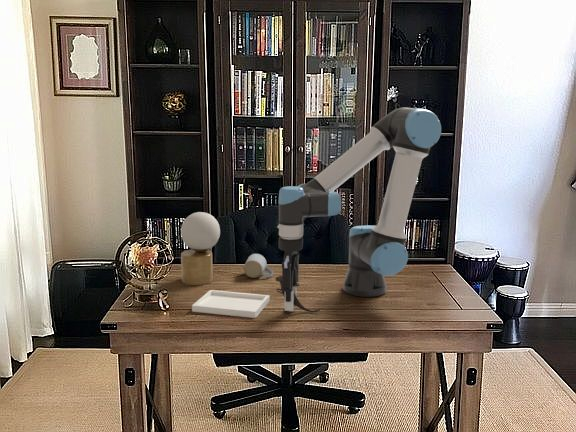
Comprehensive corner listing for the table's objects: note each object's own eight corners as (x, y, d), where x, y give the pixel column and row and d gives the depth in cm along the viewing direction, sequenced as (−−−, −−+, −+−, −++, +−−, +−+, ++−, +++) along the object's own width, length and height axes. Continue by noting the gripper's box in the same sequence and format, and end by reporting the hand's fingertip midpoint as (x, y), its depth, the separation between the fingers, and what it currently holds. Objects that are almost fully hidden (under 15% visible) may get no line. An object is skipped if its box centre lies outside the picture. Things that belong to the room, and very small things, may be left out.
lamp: (198, 271, 245) (197, 207, 240) (228, 277, 238) (227, 211, 232) (172, 281, 232) (170, 214, 227) (202, 288, 225) (201, 218, 220)
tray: (269, 301, 212) (269, 295, 212) (255, 318, 197) (255, 311, 197) (210, 295, 217) (210, 289, 217) (192, 311, 202) (191, 305, 202)
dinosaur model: (275, 273, 202) (323, 277, 201) (273, 308, 205) (320, 311, 204) (275, 278, 198) (323, 281, 197) (272, 313, 201) (320, 316, 200)
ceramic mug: (242, 278, 236) (243, 258, 235) (247, 272, 244) (247, 252, 242) (271, 280, 235) (271, 260, 233) (274, 273, 243) (274, 254, 241)
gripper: (285, 229, 206) (285, 298, 211) (272, 242, 190) (272, 316, 195) (308, 231, 204) (307, 300, 209) (296, 243, 189) (295, 318, 194)
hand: (290, 308), depth 202 cm, fingers closed on dinosaur model, 3 cm apart
